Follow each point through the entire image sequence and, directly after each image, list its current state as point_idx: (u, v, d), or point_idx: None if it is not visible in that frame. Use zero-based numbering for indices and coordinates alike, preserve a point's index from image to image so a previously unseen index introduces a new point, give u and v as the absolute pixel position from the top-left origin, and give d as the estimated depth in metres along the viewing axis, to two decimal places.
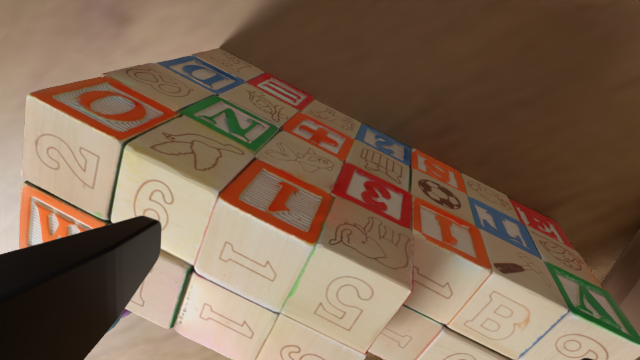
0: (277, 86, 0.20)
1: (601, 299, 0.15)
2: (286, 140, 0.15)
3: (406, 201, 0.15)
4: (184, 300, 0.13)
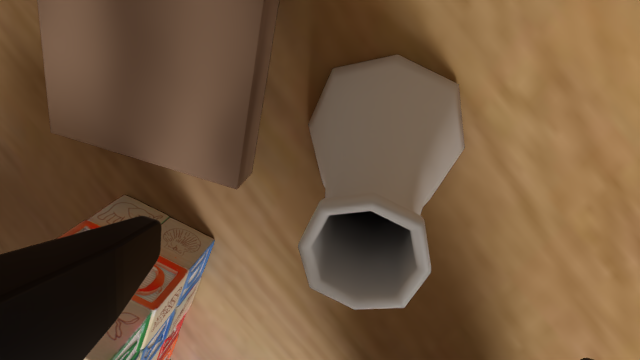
0: None
1: None
2: None
3: None
4: None
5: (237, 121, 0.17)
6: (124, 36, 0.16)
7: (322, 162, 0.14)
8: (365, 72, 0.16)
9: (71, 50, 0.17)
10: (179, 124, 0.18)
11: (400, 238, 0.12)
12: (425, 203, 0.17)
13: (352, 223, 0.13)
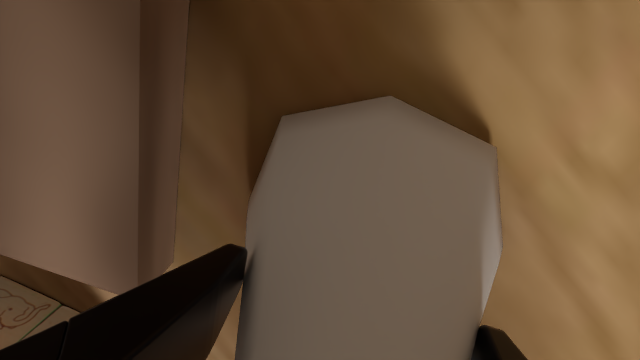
0: None
1: None
2: None
3: None
4: None
5: (124, 204, 0.10)
6: None
7: (240, 321, 0.07)
8: (332, 129, 0.09)
9: None
10: (36, 204, 0.11)
11: None
12: None
13: None
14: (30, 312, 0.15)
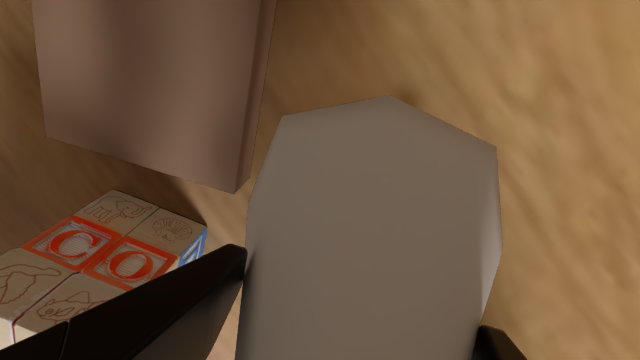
0: None
1: None
2: None
3: None
4: None
5: (234, 125, 0.17)
6: (119, 39, 0.16)
7: (240, 321, 0.07)
8: (332, 129, 0.09)
9: (66, 53, 0.17)
10: (175, 128, 0.17)
11: None
12: None
13: None
14: (140, 210, 0.21)
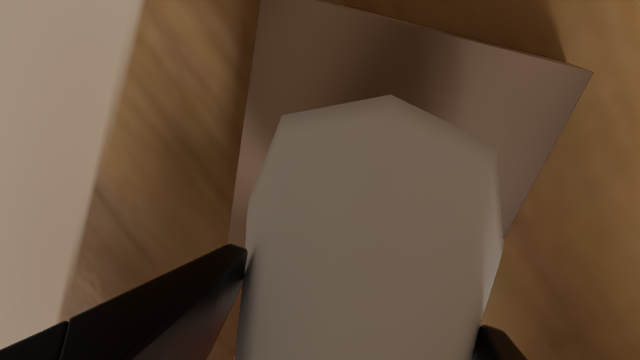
0: None
1: None
2: None
3: None
4: None
5: None
6: None
7: (240, 320, 0.07)
8: (332, 128, 0.09)
9: None
10: None
11: None
12: None
13: None
14: None
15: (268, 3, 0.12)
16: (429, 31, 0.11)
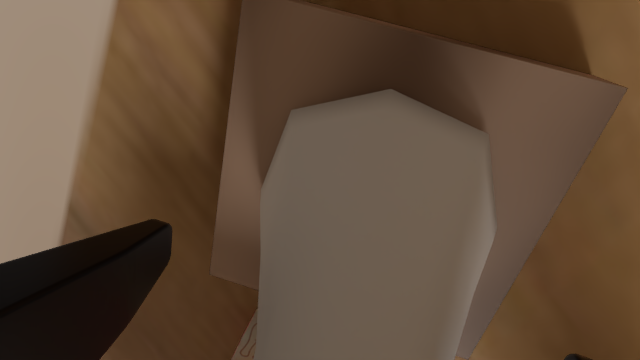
0: None
1: None
2: None
3: None
4: None
5: (496, 286, 0.12)
6: None
7: (260, 290, 0.08)
8: (338, 120, 0.10)
9: None
10: None
11: None
12: None
13: None
14: None
15: (250, 7, 0.10)
16: (435, 40, 0.10)
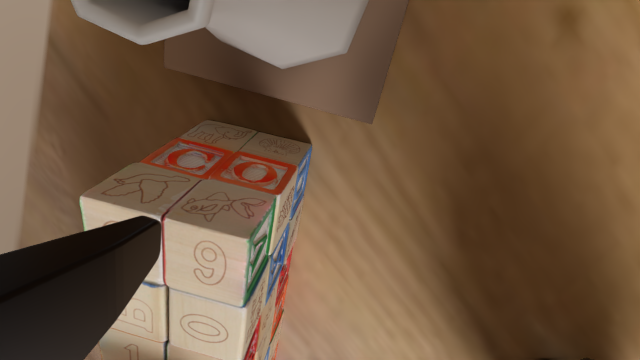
0: None
1: None
2: None
3: None
4: None
5: (385, 44, 0.16)
6: None
7: None
8: None
9: None
10: None
11: (248, 11, 0.09)
12: (327, 40, 0.14)
13: None
14: (241, 133, 0.20)
15: None
16: None
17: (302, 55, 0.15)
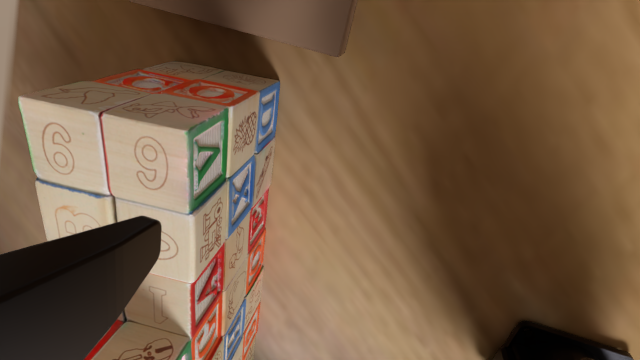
0: None
1: None
2: None
3: None
4: None
5: None
6: None
7: None
8: None
9: None
10: None
11: None
12: None
13: None
14: (207, 70, 0.19)
15: None
16: None
17: None
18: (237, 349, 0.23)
